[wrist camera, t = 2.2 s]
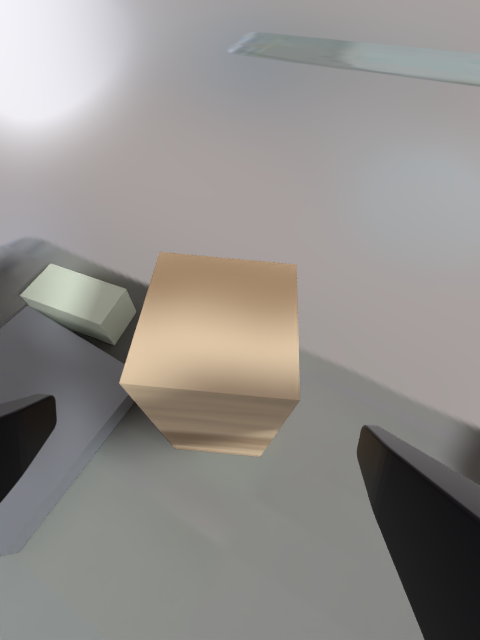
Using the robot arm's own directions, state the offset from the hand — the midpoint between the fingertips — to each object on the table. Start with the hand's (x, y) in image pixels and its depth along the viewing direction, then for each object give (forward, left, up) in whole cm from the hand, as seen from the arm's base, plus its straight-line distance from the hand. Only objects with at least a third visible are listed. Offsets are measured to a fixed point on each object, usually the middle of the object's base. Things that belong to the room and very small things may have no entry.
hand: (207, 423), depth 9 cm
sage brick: (+4, +13, -10) cm, 17 cm away
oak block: (+3, +1, -10) cm, 11 cm away
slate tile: (-3, +11, -10) cm, 15 cm away
